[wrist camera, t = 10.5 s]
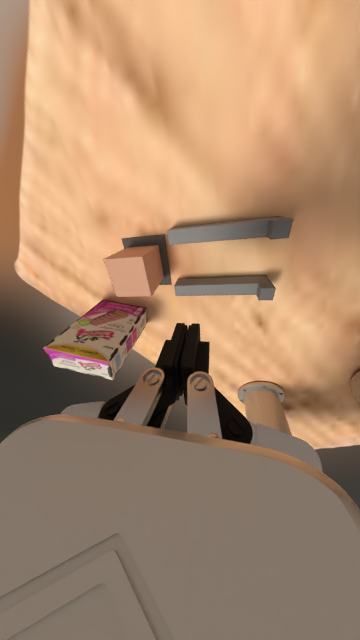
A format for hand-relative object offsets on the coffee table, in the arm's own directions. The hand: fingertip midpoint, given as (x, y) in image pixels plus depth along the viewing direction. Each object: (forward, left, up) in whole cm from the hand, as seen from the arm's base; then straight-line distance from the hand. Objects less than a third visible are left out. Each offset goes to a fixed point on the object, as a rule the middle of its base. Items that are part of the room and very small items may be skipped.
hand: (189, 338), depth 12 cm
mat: (0, +11, -21) cm, 23 cm away
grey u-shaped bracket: (0, -3, -21) cm, 21 cm away
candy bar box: (-11, +19, -21) cm, 30 cm away
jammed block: (0, +11, -21) cm, 24 cm away
